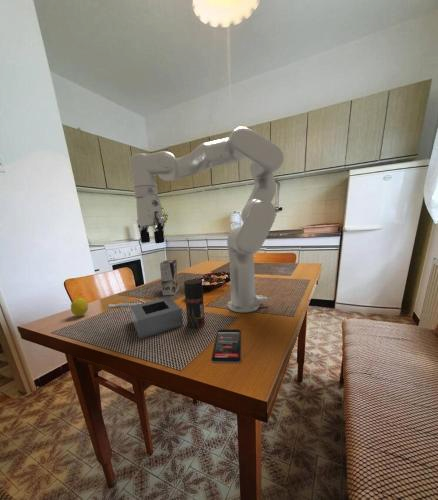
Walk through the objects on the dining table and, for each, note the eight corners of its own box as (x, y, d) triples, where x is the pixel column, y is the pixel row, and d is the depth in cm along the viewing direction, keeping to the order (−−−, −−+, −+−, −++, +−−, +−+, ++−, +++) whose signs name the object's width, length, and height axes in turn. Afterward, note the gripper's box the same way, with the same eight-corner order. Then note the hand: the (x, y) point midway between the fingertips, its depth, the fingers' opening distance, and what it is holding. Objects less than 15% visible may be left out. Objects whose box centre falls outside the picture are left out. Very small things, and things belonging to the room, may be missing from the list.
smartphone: (210, 361, 50) (217, 329, 65) (211, 363, 50) (217, 331, 65) (240, 361, 49) (240, 329, 64) (240, 364, 49) (240, 331, 64)
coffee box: (175, 295, 99) (172, 262, 97) (162, 295, 100) (159, 263, 97) (179, 289, 108) (176, 259, 106) (167, 289, 109) (164, 260, 106)
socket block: (170, 311, 81) (168, 296, 80) (183, 325, 69) (181, 308, 68) (132, 321, 74) (130, 306, 73) (139, 339, 62) (137, 320, 61)
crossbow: (150, 301, 96) (149, 297, 95) (141, 313, 83) (140, 309, 83) (115, 302, 95) (115, 297, 95) (101, 314, 82) (100, 309, 82)
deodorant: (202, 328, 66) (198, 284, 64) (184, 327, 67) (181, 284, 65) (206, 320, 72) (204, 279, 70) (190, 319, 73) (187, 278, 71)
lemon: (69, 318, 79) (66, 299, 78) (82, 312, 84) (80, 294, 83) (78, 320, 77) (75, 300, 76) (92, 314, 82) (89, 295, 81)
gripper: (169, 189, 66) (175, 241, 69) (144, 197, 78) (150, 241, 80) (148, 188, 61) (155, 244, 63) (124, 196, 73) (131, 243, 75)
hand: (152, 242), depth 72 cm, fingers open, 9 cm apart
